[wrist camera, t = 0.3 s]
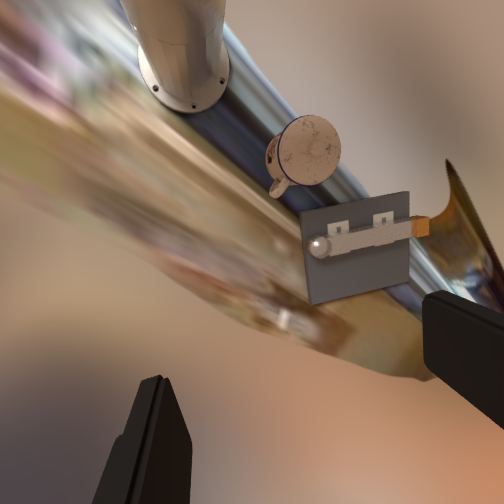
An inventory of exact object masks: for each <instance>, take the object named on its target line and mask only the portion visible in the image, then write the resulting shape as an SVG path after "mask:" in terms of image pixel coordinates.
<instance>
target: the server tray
mask: <svg viewBox="0 0 504 504" xmlns="http://www.w3.org/2000/svg"><path fill="white" fill-rule="evenodd" d="M407 217H409V192H408V191H404V192H398V193H392V194H387V195H382V196H377V197H372V198H367V199H361V200H356V201H351V202H346V203H341V204H336V205H330V206H325V207H320V208H315V209H310V210H305V211H299V220H300V229H301V237H302V246H303V255H304V263H305V272H306V281H307V289H308V298H309V302H310V304H311V305H315V304H319V303H323V302H327V301H331V300H335V299H339V298H343V297H347V296H351V295H355V294H359V293H363V292H367V291H371V290H376V289H380V288H384V287H388V286H392V285H396V284H400V283H404V282H408V281H409V238H405V239H400V240H396V241H391V242H387V243H382V244H378V245H373V246H368V247H364V248H359V249H355V250H350V251H346V252H341V253H337V254H332V255H328V256H327V257H325V258H322V259H319V258H316V257H315V256H313V255H311V254H310V253H308V251H307V250H306V242H307V240H308V239H309V238H310V237H311V236H313V235H319V236H321V235H326V234H330V233H335V232H340V231H345V230H350V229H354V228H359V227H364V226H369V225H374V224H378V223H383V222H388V221H393V220H397V219H402V218H407Z"/></svg>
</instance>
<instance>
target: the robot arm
mask: <svg viewBox="0 0 504 504" xmlns="http://www.w3.org/2000/svg"><path fill="white" fill-rule="evenodd" d="M120 2H121V5H122V7H123V9H124V11H125V13H126V16H127V18H128V20H129V22H130V24H131V27H132V29H133V31H134V33H135V35H136V37H137V40H138V42H139V44H138V63H139V68H140V71H141V74H142V77H143V79H144V81H145V83H146V85H147V87H148V88H149V90H150V91H151V93H152V94H153V95H154V96H155V97H156V98H157V100H159V101H160V102H161V103H162V104H164V105H165V106H167V107H168V108H170V109H172V110H174V111H177V112H180V113H188V114H192V113H199V112H202V111H205V110H207V109H209V108H211V107H212V106H213V105H214V104H216V103H217V102H218V100H219V99H220V98H221V96H222V95H223V93H224V91H225V89H226V86H227V82H228V77H229V58H228V53H227V50H226V47H225V44H224V42H223V40H222V33H223V24H224V14H225V4H226V0H120ZM221 81H222V82H223V84H221V83H220V82H221ZM156 89H158V92H155V90H156ZM193 106H195V107H196V108H195V109H193V108H192V107H193ZM422 320H423V355H424V363H425V365H426V366H427V368H428V369H429V370H430V371H431V372H432V373H434V374H435V375H436V376H437V377H439V378H440V379H441V380H443V381H444V382H445V383H447V384H448V385H449V386H450V387H451V388H452V389H454V390H455V391H456V392H458V393H459V394H460V395H461V396H463V397H464V398H465V399H466V400H468V401H469V402H470V403H471V404H472V405H474V406H475V407H476V408H477V409H479V410H480V411H481V412H482V413H484V414H485V415H486V416H487V417H489V418H490V419H491V420H492V421H494V422H495V423H496V424H497V425H499V426H500V427H501V428H502V429H504V315H503V314H501V313H498V312H496V311H494V310H491V309H489V308H486V307H484V306H482V305H479V304H477V303H474V302H472V301H470V300H467V299H465V298H462V297H460V296H457V295H455V294H453V293H450V292H448V291H445V290H440V291H436V292H433V293H430V294H427V295H426V296H425V297H424V300H423V302H422ZM191 469H192V441H191V437H190V435H189V432H188V429H187V427H186V424H185V421H184V418H183V416H182V413H181V410H180V408H179V405H178V402H177V399H176V397H175V394H174V391H173V388H172V386H171V383H170V380H169V379H168V378H164V379H163V377H162V376H161V375H158V376H154V377H151V378H147V379H145V380H142V382H141V383H140V386H139V389H138V392H137V395H136V397H135V400H134V403H133V406H132V409H131V412H130V415H129V418H128V421H127V424H126V427H125V429H124V433H123V434H122V435H119V437H117V438H116V440H115V442H114V444H113V447H112V450H111V453H110V455H109V458H108V461H107V463H106V466H105V469H104V471H103V474H102V477H101V480H100V482H99V485H98V488H97V491H96V493H95V496H94V499H93V502H92V504H190V488H191Z"/></svg>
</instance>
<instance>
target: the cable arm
mask: <svg viewBox="0 0 504 504" xmlns="http://www.w3.org/2000/svg"><path fill="white" fill-rule="evenodd" d="M426 235H429V217H425V216H412V217H407V218H402V219H397V220H393V221H388V222H383V223H378V224H374V225H369V226H364V227H359V228H354V229H350V230H345V231H340V232H335V233H330V234H326V235H321V236H319V235H313V236H311V237H310V238H309V239H308V240H307V242H306V250H307V251H308V253H310V254H311V255H313V256H315V257H316V258H319V259H322V258H325V257H327V256H328V255H332V254H337V253H341V252H346V251H350V250H355V249H359V248H364V247H368V246H373V245H378V244H382V243H387V242H391V241H396V240H400V239H405V238H409V237H416V238H417V237H422V236H426Z"/></svg>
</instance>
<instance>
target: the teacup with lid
mask: <svg viewBox="0 0 504 504" xmlns="http://www.w3.org/2000/svg"><path fill="white" fill-rule="evenodd" d="M340 154H341V144H340V139H339V136H338V134H337V132H336V130H335V128H334V127H333V126H332V125H331V124H330V123H329V122H328V121H327V120H325V119H323V118H321V117H318V116H314V115H306V116H301V117H299V118H296V119H295V120H293V121H292V122H290V123H289V124H288V125H287V126H286V128H285V129H284V130H283V131H282V132H281V133H279V134H278V135H277V136H275V137H274V138H273V139H272V141H271V142H270V144H269V145H268V148H267V151H266V156H265V161H266V167H267V170H268V172H269V174H270V175H271V176H272V178H273V179H274V180H275V181H274V183H273V184H272V186H271V188H270V192H269V194H270V196H271V197H273V198H278V197H280V196H281V195H282V194H283V193H284V191H285V190H286V189H287V187H288V186H289V185H301V186H314V185H317V184H320V183H322V182H323V181H325V180H326V179H327V178H329V177H330V175H331V174H332V173H333V172H334V170H335V169H336V167H337V165H338V162H339V159H340Z"/></svg>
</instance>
